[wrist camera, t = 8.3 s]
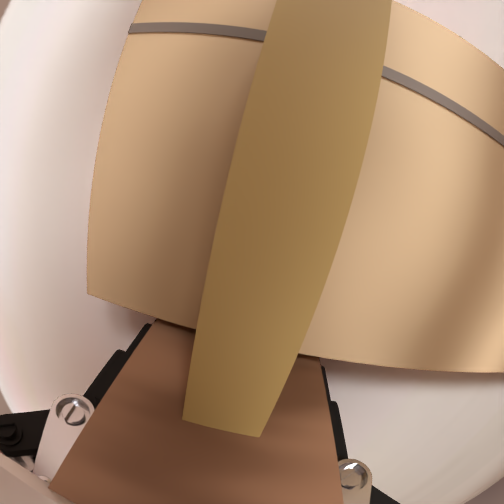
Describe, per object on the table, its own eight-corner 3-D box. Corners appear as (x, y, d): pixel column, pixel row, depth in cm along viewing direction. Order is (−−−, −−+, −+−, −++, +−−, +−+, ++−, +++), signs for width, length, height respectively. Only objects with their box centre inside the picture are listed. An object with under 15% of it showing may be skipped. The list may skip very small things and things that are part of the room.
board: (585, 198, 7) (611, 207, 4) (534, 348, 10) (554, 369, 7) (184, -1, 7) (160, -38, 4) (123, 264, 10) (86, 294, 7)
